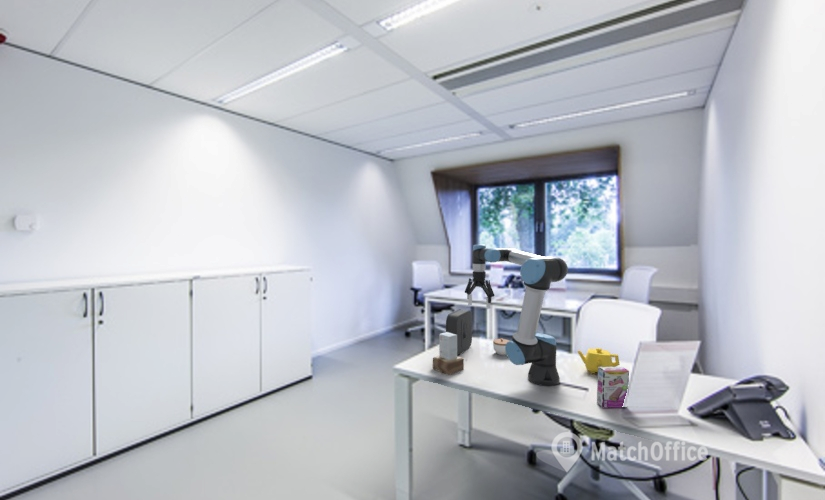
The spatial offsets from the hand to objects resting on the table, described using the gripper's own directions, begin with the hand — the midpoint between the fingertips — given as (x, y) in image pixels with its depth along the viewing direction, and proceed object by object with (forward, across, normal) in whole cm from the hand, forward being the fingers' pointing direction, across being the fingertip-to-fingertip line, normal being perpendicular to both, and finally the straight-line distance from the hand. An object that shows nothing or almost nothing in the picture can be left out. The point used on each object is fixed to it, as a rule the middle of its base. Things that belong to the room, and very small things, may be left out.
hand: (479, 306), depth 206 cm
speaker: (+32, +19, -5) cm, 37 cm away
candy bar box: (+32, -74, +1) cm, 80 cm away
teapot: (+32, -54, -33) cm, 71 cm away
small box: (+26, +2, +24) cm, 35 cm away
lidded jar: (+32, -2, -20) cm, 38 cm away
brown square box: (+32, +2, +24) cm, 40 cm away
